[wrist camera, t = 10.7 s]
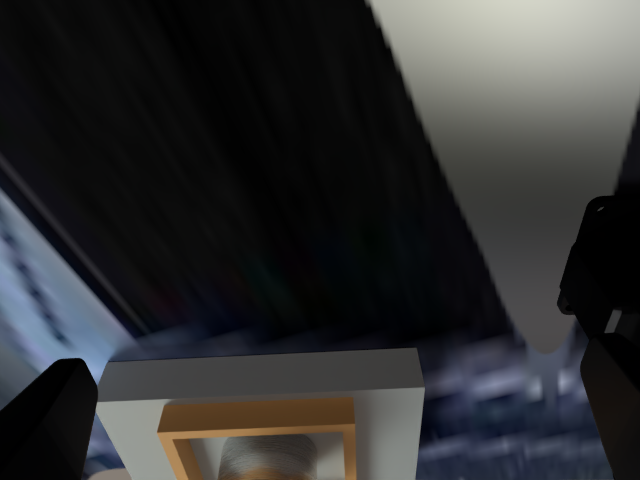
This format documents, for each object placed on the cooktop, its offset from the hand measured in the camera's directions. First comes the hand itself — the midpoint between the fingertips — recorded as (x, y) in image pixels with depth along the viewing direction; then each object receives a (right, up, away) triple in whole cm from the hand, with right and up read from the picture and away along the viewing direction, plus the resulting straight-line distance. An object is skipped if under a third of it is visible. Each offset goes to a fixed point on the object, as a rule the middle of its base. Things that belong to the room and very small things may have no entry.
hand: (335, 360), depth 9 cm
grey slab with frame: (-3, -8, +21) cm, 23 cm away
